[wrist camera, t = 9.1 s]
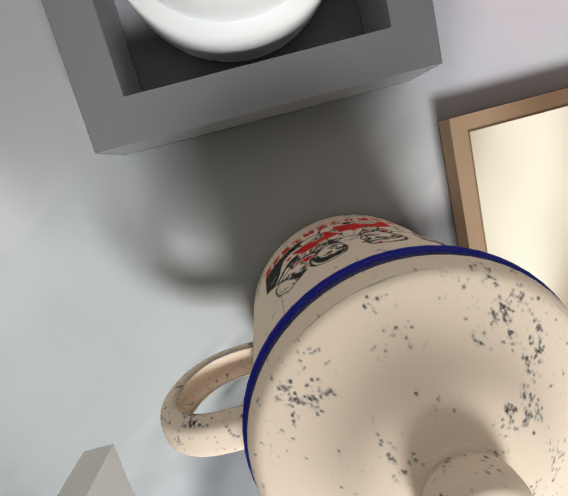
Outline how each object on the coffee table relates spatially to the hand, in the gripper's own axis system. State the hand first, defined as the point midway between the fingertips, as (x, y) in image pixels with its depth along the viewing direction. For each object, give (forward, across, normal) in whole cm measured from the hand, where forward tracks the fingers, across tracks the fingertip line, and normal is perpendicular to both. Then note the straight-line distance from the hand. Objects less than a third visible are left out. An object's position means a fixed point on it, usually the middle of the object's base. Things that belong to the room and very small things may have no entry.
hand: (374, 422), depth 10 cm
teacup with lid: (+9, 0, 0) cm, 9 cm away
